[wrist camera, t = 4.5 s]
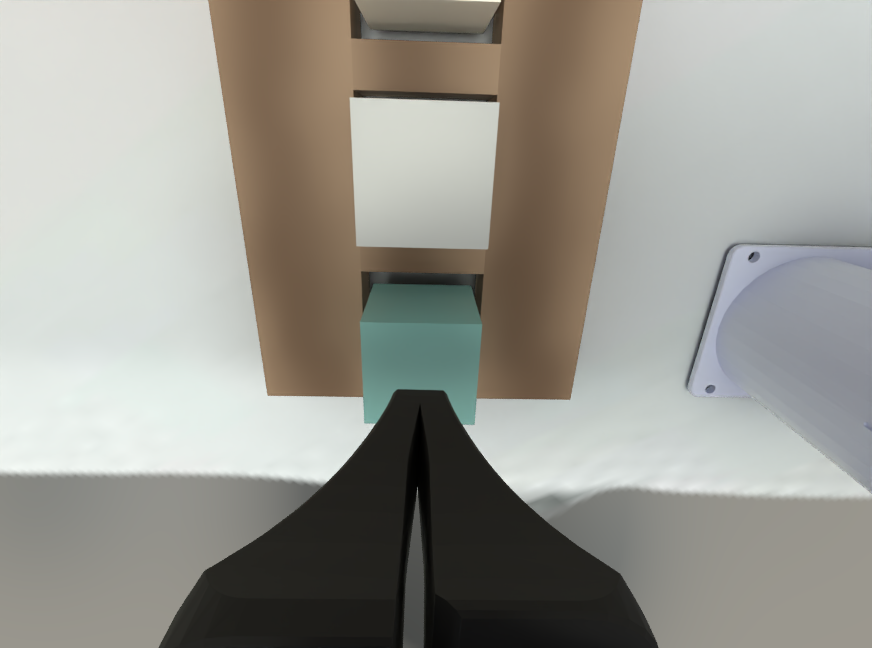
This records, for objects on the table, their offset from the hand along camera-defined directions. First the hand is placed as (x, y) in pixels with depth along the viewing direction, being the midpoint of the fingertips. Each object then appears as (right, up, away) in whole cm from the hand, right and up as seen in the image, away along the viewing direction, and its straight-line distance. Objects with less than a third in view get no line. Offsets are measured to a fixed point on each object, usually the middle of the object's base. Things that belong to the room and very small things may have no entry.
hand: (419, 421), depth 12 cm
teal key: (0, +2, +7) cm, 7 cm away
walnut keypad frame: (0, +9, +7) cm, 12 cm away
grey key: (0, +8, +4) cm, 9 cm away
